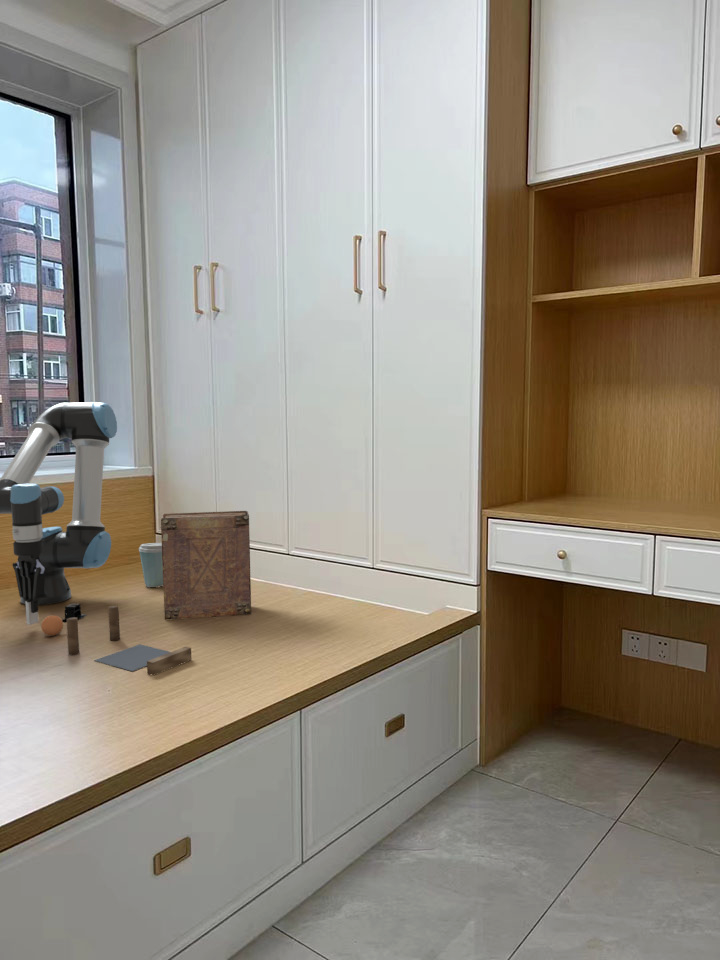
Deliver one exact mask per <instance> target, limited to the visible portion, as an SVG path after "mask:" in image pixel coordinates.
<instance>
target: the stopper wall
mask: <svg viewBox="0 0 720 960" xmlns="http://www.w3.org/2000/svg"><path fill="white" fill-rule="evenodd" d="M169 652H170V653H167V654H165V655H162V656H159V657H157V658H154V659H151V660H149V661H147V666H146V668H147V669H146V670H147V673H148V674H147V675H150V674H152V675H151V676H155V675H157V673H158V674H160V673H162V671H163V672H164V670H165V671H168V670H169V668H170V669H172V668H171V667H173V668H175V667H177V665H178V666H180V665H182V664H181V663H183V664H185V663H188V662H189V661H188V660H190V661H192V660H191V659H192V648H191V647H189V646H183V647H180V648H178V649H175V650H173V651H169ZM187 661H188V662H187ZM184 662H185V663H184ZM179 664H180V665H179ZM174 666H175V667H174ZM167 669H168V670H167ZM154 674H155V675H154Z"/></svg>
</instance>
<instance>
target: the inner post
mask: <svg viewBox="0 0 720 960" xmlns="http://www.w3.org/2000/svg"><path fill="white" fill-rule="evenodd" d="M108 625H109V629H108V630H109V641H110V642H113V643H115V642H118V641H120V640H121V629H120V606H119V605H110V606H108Z"/></svg>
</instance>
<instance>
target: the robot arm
mask: <svg viewBox="0 0 720 960" xmlns="http://www.w3.org/2000/svg"><path fill="white" fill-rule="evenodd" d="M117 432H118V422H117V417H116V414H115V411H114V410H113V408H112V407H111V405H110V404H109V403H106V402H99V401H98V402H97V401H90V402H89V401H88V402H60V403H57V404H55V405H52V406H51V407H48V408H47V409H46V410H44V411H43V412H42V413H40V415H39V416H37V417H36V418H35V420H34V421H33V422H32V423H31V425H30V426H29V428H28V435H27V437H26V439H25V440H24V441H23V443H22V445H21V447H20V448H19V449H18V451H17V452H16V454H15V456H14V458H12V459H11V462H10V464H8V466H7V468H6V469H5V471H4V473H3V474H2V476H1V477H0V515H2V514H7V515H9V514H11V520H12V522H11V524H12V531H11V533H12V540H14V541H13V543H12V546H13V554H14V556H16V557H17V561H16V562H13V563H12V568H13V570H14V574H15V579H16V584H17V588H18V589H17V590H18V594H19V595H18V596H19V597H20V603H21V604H24V606H25V617H26V619H25V620H26V625H29V626H32V625H34V624H38V623H40V621H39V606H43V605H44V606H45V605H52V604H58V603H61V602H64V601H67V600H69V599H71V598H72V590H71V587H70V585H69V583H68V580H67V577H66V575H65V569H94V568H95V569H96V568H100V567H103V565H104V564H106V562H107V560H108V558H109V556H110V553H111V549H112V538H111V534H110V533H109V532H108V531H106V526H105V525H104V524H103V523H102V521H101V514H102V513H101V512H102V510H101V509H102V498H103V497H102V495H103V475H104V474H103V473H104V459H105V457H104V452H105V449H106V448H107V447H108V446H109V445H110V439H113V438H114V437H116V435H117ZM67 438H68V439H71V444H73V446H74V447H75V461H74V462H75V463H74V480H73V482H74V483H73V496H72V498H73V499H72V515H71V516H72V518H71V521H70V522H69V523H67V524H66V530H65V531H63V529H62V526H50V527H44V528H43V515H46V514H51V513H52V514H53V513H55V512H56V511H58V510H60V509H61V508H62V507H63V505H64V502H65V496H64V493H63V492H62V490H61V489H60V488H58V487H56V486H44V487H41V486H40V485H39V484H38V483H32V482H31V481H32V479H33V478H34V477H35V474H36V473H37V471H38V470H39V468H40V466H41V465H42V464H43V461H44V460H45V458H46V456H47V455H48V454H49V451H50V450H51V448H52V447H55V446H57V444H59V442H60V440H63V439H67Z"/></svg>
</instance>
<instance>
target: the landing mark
mask: <svg viewBox="0 0 720 960" xmlns="http://www.w3.org/2000/svg"><path fill="white" fill-rule="evenodd" d="M170 652H171V651H169V650H164V649H161V648H156V647H152V646H148V645H145V644H140V643H139V644H136V645H133V646H131V647H127V648H125V649H122V650H120V651H117V652H113V653H111V654H108V655H105V656H101V657H99V658H97V659H94V660H93V661H94V662H96V663H100V662H101V663H100V664H103V663H104V664H103V665H107V664H108V666H110V665H111V667H114V666H115V667H114V668H117V667H118V669H121V668H122V669H121V670H124V669H125V671H128V670H129V671H128V672H131V671H133V672H136V671H138V670H140V668H141V669H143V667H144V668H147V661H149V660H151V659H154V658H157V657H159V656H162V655H165V654H167V653H170ZM137 669H138V670H137ZM135 670H136V671H135Z"/></svg>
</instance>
